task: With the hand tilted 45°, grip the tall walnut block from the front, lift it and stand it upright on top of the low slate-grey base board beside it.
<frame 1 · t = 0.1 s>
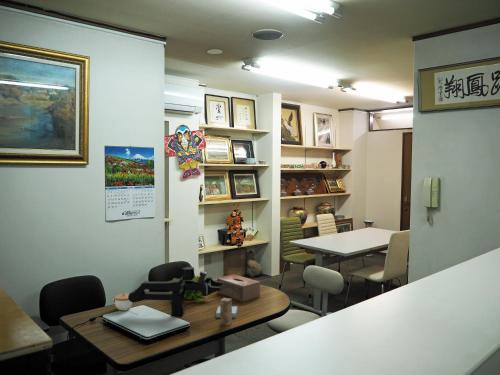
hand: (221, 286, 228), 17 cm above the table, tool horizontal, fingers open, 9 cm apart
potted flower: (187, 300, 255), on the table
tissue box cover: (238, 295, 267), on the table
walnut block: (226, 323, 217), on the table
slate base: (226, 314, 231), on the table
lidded jar: (124, 309, 241), on the table
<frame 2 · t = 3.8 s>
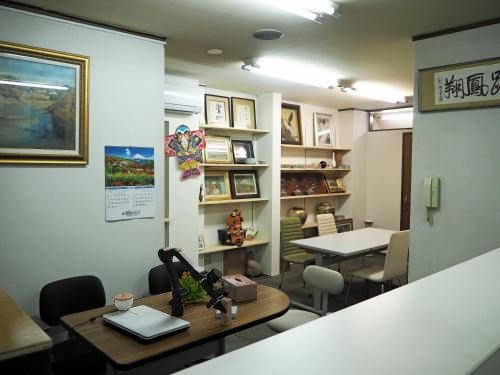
hand: (228, 311, 216), 7 cm above the table, tool tilted 45°, fingers closed on walnut block, 4 cm apart
walnut block: (226, 323, 217), on the table, touching gripper
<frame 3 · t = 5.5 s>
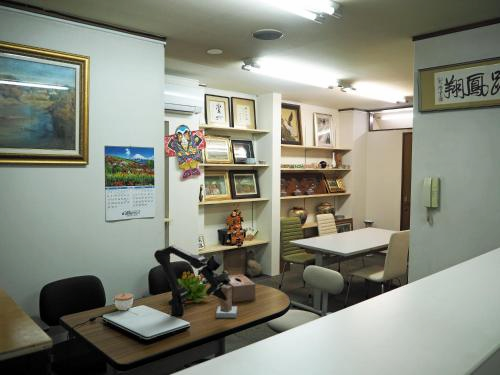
hand: (228, 298, 216), 13 cm above the table, tool tilted 45°, fingers closed on walnut block, 4 cm apart
walnut block: (226, 310, 217), point 7 cm above the table, touching gripper
when the fingers open (10 cm above the table, at t = 7.5 s): walnut block drops 1 cm, resting on slate base.
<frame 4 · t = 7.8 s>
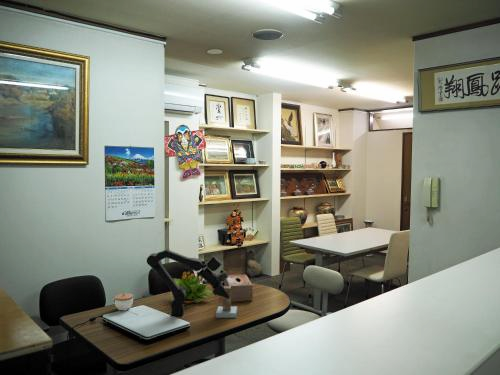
hand: (229, 295, 231), 11 cm above the table, tool tilted 45°, fingers open, 7 cm apart
walnut block: (226, 309, 231), point 3 cm above the table, touching slate base
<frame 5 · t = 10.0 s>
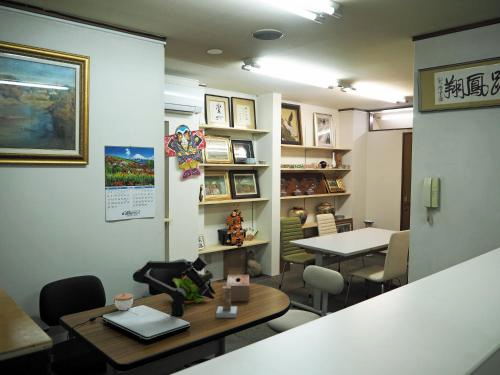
hand: (214, 296, 230), 10 cm above the table, tool tilted 45°, fingers open, 9 cm apart
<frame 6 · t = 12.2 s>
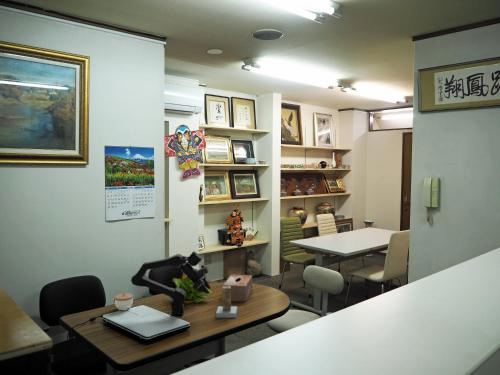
hand: (209, 290, 230), 14 cm above the table, tool tilted 45°, fingers open, 9 cm apart
at the end: walnut block inside the target area on the slate base (0.0 cm from its centre), point 2.5 cm above the slate base's base; walnut block tilted 0°; the gripper is holding nothing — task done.
